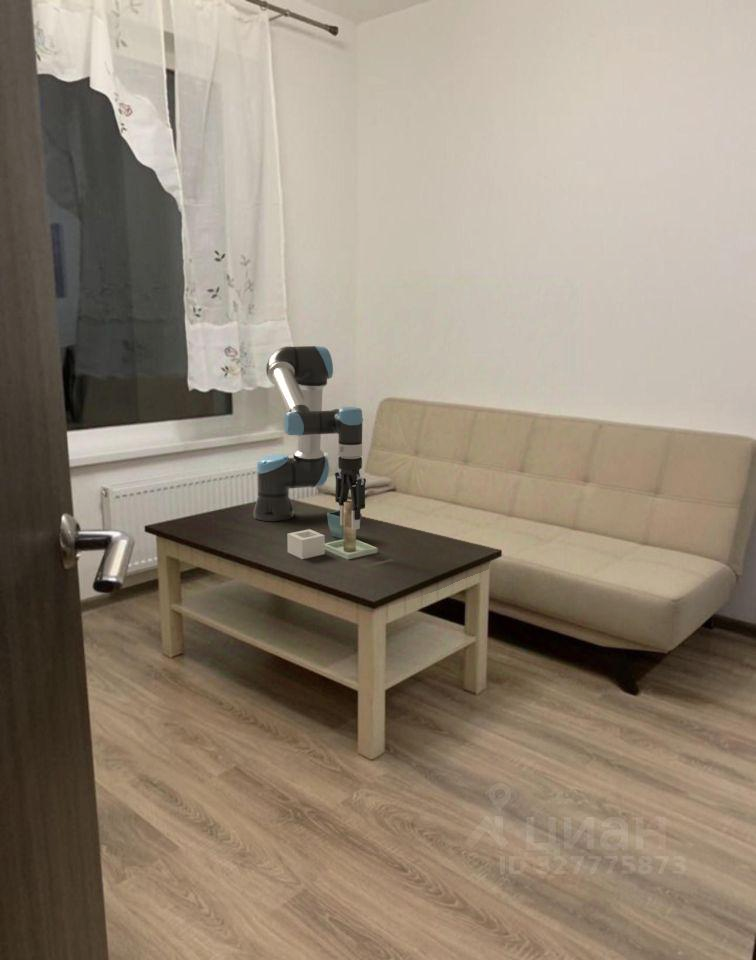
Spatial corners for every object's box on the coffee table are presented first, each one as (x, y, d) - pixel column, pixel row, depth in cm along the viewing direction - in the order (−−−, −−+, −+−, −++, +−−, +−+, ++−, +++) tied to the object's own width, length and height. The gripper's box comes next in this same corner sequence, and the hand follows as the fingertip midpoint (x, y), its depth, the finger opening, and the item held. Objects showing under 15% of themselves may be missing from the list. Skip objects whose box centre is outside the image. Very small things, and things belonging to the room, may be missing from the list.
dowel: (341, 549, 246) (341, 501, 243) (350, 547, 248) (351, 500, 245) (348, 552, 243) (348, 503, 240) (358, 550, 245) (358, 502, 242)
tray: (322, 550, 247) (322, 543, 247) (351, 544, 255) (351, 537, 254) (347, 561, 237) (347, 554, 236) (377, 554, 244) (377, 547, 244)
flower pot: (345, 533, 267) (345, 508, 265) (362, 538, 261) (362, 513, 259) (326, 538, 261) (326, 513, 259) (343, 543, 255) (343, 518, 253)
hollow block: (287, 554, 243) (287, 533, 241) (309, 549, 248) (309, 529, 247) (302, 561, 236) (302, 540, 235) (324, 556, 242) (324, 535, 240)
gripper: (323, 453, 243) (324, 522, 249) (358, 462, 229) (357, 535, 234) (342, 450, 248) (342, 518, 253) (377, 459, 234) (376, 531, 239)
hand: (349, 526), depth 244 cm, fingers open, 5 cm apart
